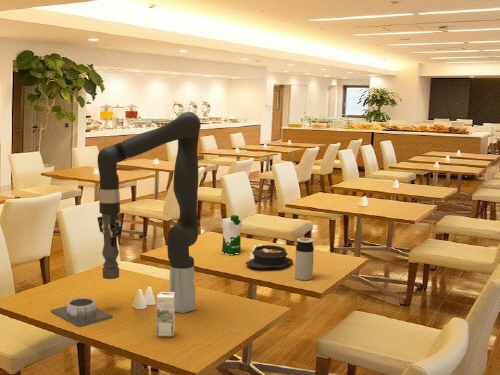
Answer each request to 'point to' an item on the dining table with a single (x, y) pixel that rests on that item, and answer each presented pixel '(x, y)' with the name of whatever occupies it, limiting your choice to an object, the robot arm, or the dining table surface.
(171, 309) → the syrup box
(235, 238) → the milk carton
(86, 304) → the steel collar
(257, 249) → the casserole
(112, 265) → the candle holder
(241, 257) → the dining table surface
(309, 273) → the travel mug
